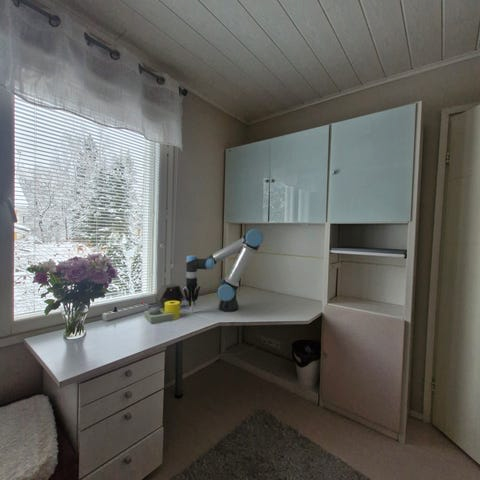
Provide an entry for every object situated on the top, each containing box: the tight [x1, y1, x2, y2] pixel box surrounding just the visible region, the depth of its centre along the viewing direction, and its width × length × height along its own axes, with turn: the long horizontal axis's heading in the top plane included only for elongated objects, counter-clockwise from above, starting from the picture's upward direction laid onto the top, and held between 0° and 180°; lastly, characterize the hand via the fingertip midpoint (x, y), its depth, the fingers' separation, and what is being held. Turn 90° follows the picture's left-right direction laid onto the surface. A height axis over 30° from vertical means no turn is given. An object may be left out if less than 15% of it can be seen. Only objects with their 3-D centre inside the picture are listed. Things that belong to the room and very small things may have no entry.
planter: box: [154, 283, 185, 309], centre depth 187 cm, size 17×8×21 cm
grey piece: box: [144, 306, 175, 325], centre depth 167 cm, size 14×15×7 cm
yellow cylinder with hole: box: [165, 301, 181, 320], centre depth 172 cm, size 10×10×9 cm
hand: (191, 310), depth 180 cm, fingers closed
